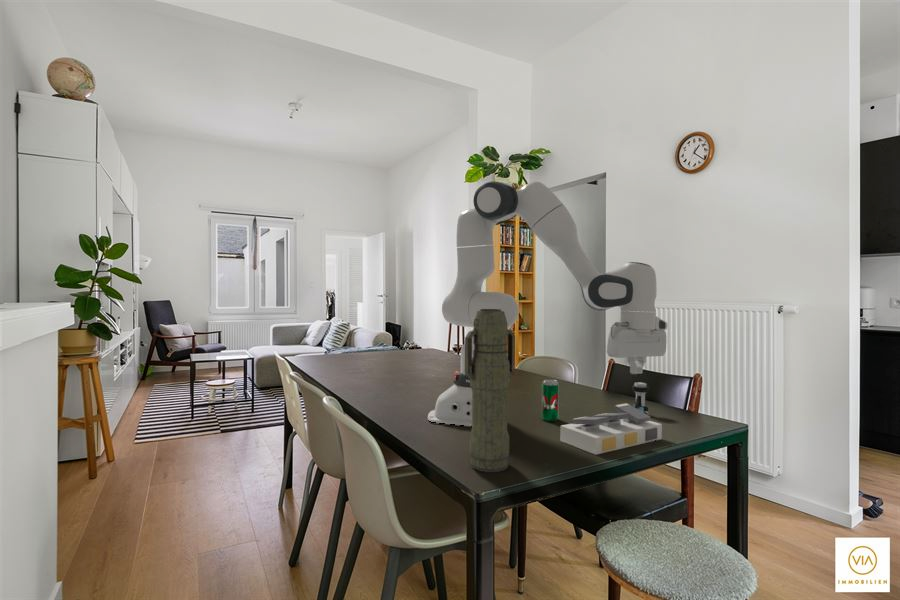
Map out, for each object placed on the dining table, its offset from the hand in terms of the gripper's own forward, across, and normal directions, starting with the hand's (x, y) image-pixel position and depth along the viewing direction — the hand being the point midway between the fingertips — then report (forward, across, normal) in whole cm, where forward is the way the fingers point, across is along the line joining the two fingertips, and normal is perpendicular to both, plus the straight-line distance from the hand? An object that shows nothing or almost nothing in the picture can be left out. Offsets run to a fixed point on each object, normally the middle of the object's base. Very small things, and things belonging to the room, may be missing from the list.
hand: (636, 373), depth 125 cm
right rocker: (+11, +1, +2) cm, 11 cm away
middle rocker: (+11, -7, +2) cm, 14 cm away
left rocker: (+12, -15, +2) cm, 19 cm away
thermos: (+19, -46, +3) cm, 50 cm away
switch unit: (+18, -7, +2) cm, 19 cm away
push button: (+16, +22, +15) cm, 31 cm away
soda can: (+18, -8, +24) cm, 31 cm away
